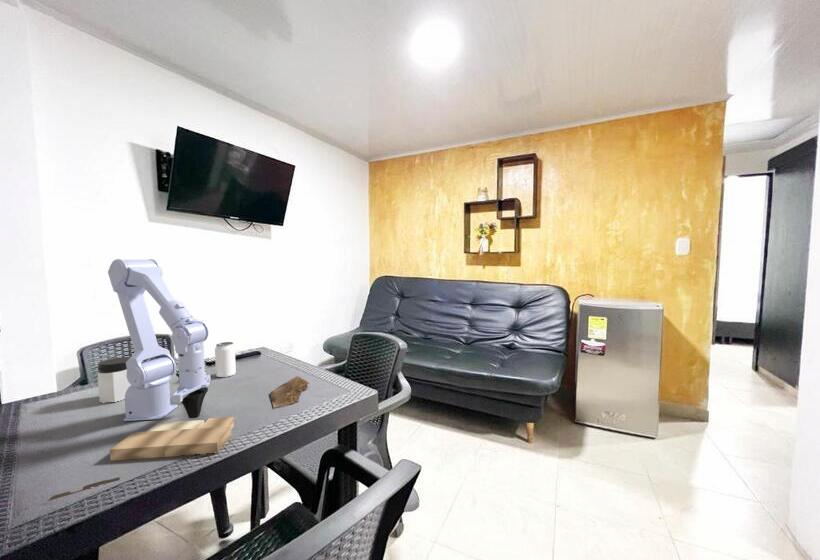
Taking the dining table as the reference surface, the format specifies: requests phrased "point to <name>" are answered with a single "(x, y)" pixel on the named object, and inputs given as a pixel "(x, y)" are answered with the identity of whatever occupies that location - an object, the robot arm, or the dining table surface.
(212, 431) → the angled wooden block
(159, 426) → the plank
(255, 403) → the dining table surface
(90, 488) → the wooden stick
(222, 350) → the can
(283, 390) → the wooden fragment
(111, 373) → the jar
